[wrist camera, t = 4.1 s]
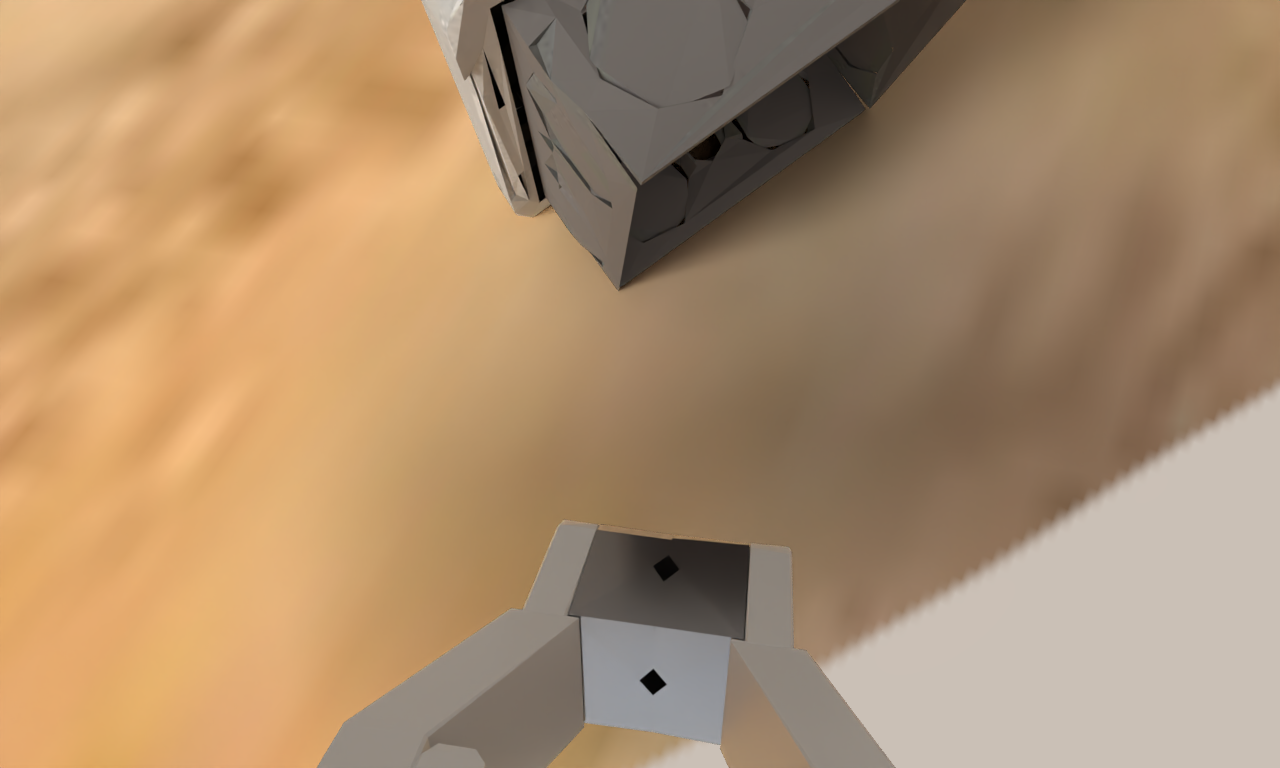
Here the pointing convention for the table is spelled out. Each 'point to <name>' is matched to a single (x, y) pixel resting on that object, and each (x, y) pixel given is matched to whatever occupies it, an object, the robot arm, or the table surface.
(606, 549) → the robot arm
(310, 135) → the table surface
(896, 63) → the electrical switch
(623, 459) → the table surface
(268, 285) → the table surface
